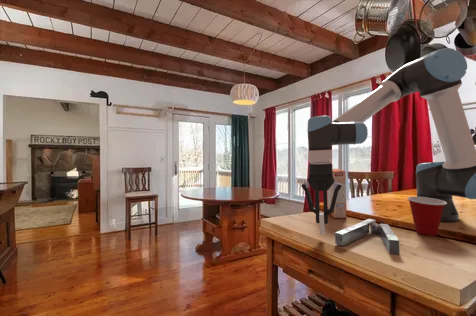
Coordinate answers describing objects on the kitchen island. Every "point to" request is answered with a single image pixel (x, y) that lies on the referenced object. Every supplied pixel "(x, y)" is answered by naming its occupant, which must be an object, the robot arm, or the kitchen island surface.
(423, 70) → the robot arm
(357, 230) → the bar
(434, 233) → the plastic cup
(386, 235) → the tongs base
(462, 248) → the kitchen island surface
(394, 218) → the kitchen island surface
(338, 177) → the cracker box
